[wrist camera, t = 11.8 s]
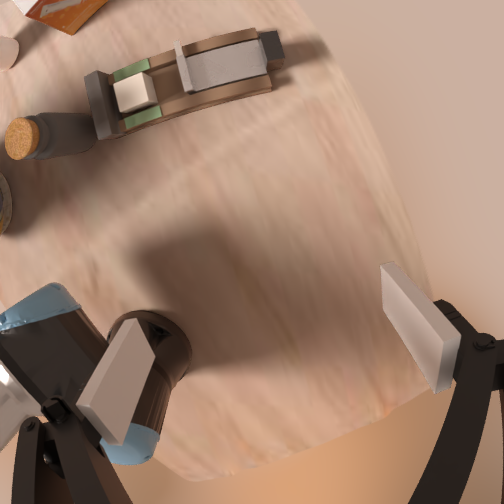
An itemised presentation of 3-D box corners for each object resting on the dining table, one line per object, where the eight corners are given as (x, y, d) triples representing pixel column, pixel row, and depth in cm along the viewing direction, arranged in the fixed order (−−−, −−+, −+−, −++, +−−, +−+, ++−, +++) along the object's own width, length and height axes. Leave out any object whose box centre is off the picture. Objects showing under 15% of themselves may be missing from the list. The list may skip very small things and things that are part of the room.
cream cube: (131, 113, 37) (119, 112, 33) (125, 87, 36) (113, 83, 32) (158, 103, 37) (148, 100, 33) (151, 77, 35) (141, 72, 32)
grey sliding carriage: (190, 95, 36) (180, 89, 31) (178, 48, 34) (167, 36, 28) (281, 72, 35) (286, 62, 30) (268, 25, 33) (270, 9, 27)
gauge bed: (117, 138, 39) (98, 139, 34) (103, 82, 36) (83, 76, 31) (271, 91, 37) (274, 84, 32) (254, 32, 34) (254, 17, 29)
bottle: (61, 143, 39) (-4, 154, 25) (75, 108, 37) (11, 106, 23) (88, 158, 40) (26, 173, 26) (104, 122, 38) (43, 122, 24)
